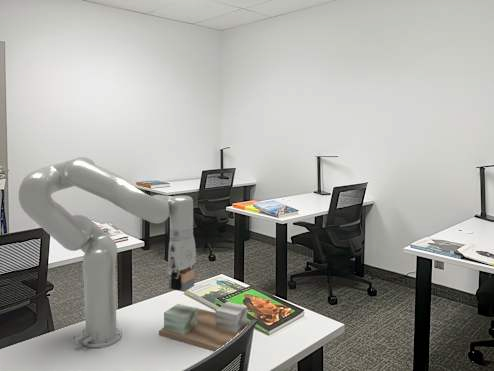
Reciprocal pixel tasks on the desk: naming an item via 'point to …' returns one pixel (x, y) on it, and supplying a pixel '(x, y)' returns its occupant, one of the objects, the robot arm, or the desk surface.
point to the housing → (185, 279)
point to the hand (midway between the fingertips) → (181, 285)
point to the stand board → (204, 324)
